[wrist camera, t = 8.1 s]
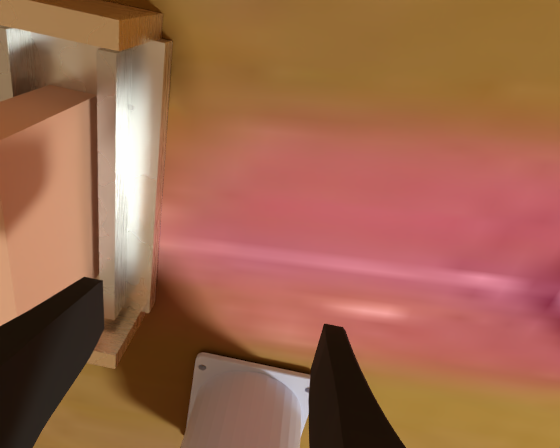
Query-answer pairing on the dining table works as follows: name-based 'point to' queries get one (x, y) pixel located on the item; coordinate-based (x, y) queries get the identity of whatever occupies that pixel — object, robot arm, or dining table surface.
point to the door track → (105, 132)
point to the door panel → (47, 195)
